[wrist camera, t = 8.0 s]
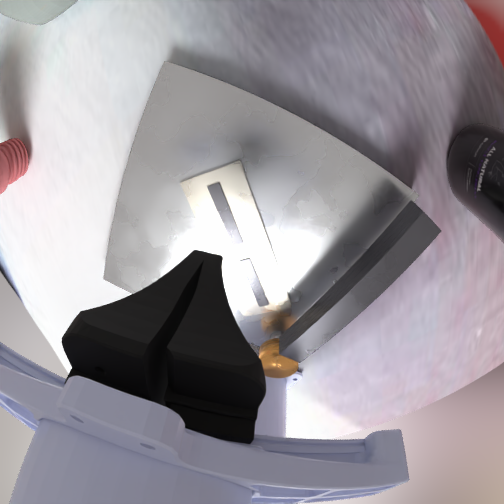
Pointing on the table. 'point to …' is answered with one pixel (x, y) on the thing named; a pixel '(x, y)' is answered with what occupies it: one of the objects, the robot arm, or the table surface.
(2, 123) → the table surface
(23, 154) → the light bulb
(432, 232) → the swing arm
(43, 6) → the air freshener
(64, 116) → the table surface
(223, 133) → the square grey plate
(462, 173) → the supplement bottle
